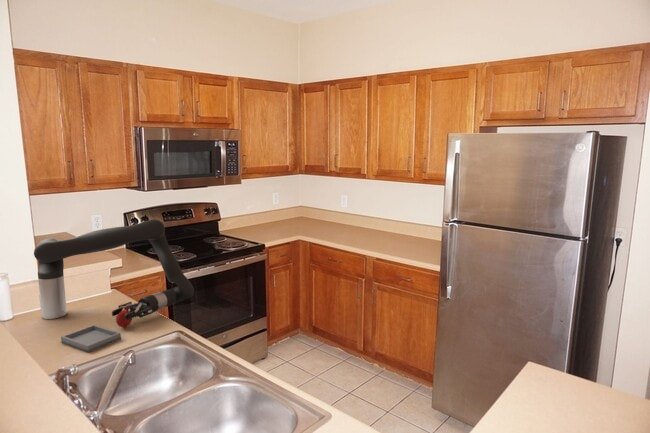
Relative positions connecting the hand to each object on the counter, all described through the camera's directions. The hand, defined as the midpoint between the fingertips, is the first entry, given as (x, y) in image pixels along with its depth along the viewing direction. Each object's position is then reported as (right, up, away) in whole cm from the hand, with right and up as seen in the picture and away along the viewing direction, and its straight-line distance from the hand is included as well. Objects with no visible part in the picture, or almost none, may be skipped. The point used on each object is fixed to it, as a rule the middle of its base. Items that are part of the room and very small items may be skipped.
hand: (119, 315), depth 172 cm
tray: (-6, -7, -9) cm, 13 cm away
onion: (+1, -6, +3) cm, 7 cm away
